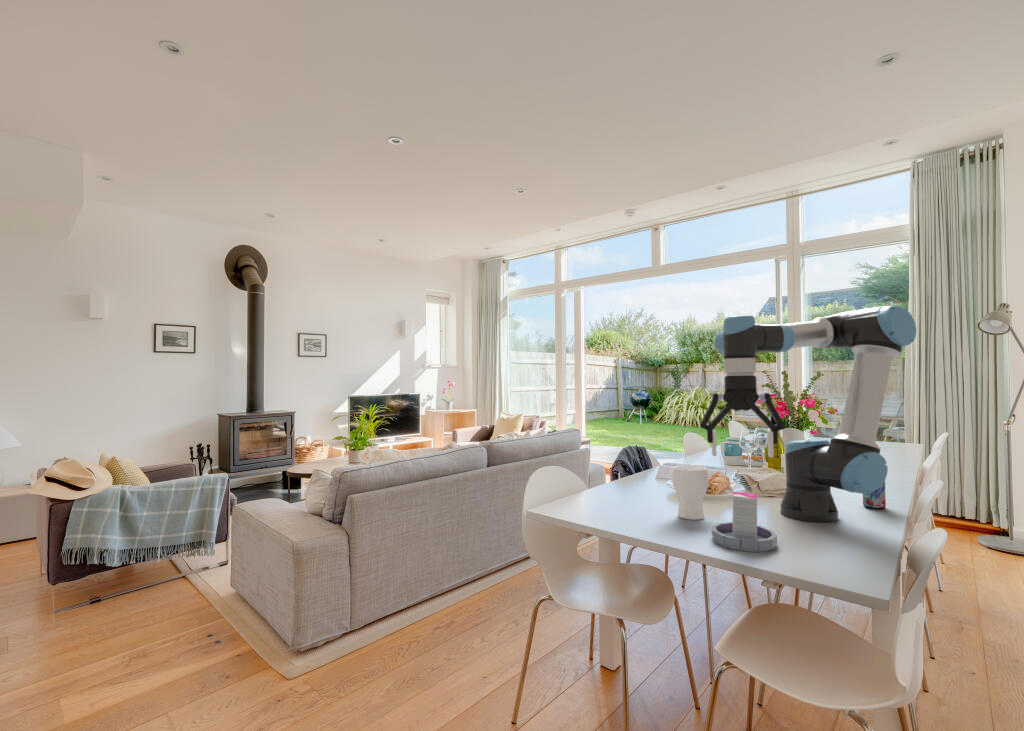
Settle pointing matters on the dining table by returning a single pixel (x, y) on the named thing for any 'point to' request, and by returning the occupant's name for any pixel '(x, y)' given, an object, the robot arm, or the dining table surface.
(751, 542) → the dish
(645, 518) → the dining table surface
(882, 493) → the beverage can
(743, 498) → the supplement box
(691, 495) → the cup
